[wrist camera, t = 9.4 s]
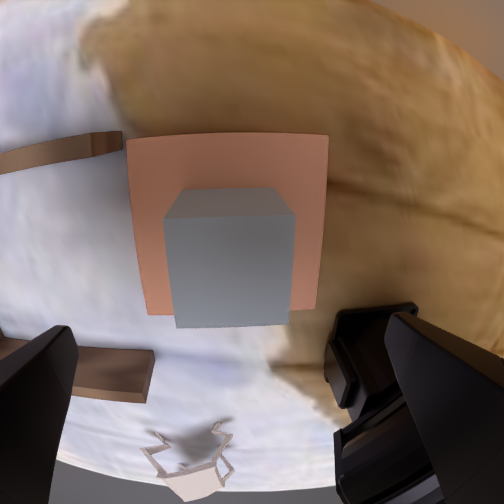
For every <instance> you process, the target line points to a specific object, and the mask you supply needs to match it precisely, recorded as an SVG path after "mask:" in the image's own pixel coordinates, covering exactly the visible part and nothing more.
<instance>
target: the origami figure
mask: <svg viewBox="0 0 504 504" xmlns="http://www.w3.org/2000/svg"><path fill="white" fill-rule="evenodd" d="M220 425H221V422H217V423H216V424H215V426H214V427H213V429H212V430H211V433H213V434H217V435H222V436H226V437H225V438H224V440H223V442H222V443H221V445H220V446H219V448H218V450H217V452H216V453H215V455H214V457H213V459H212V461H211V462H209V463H206V464H203V465H200V466H197V467H194V468H191V469H187V468H186V467H184V466H183V465H182V464H181V463H177V464H178V465H179V466H180V467H182V468H183V469H185V470H183V471H179V472H175V473H170V474H168V473H167V472H166V471H165V470H164V469H163V468H162V467H161V466H160V465H159V464H158V462H157V461H156V460H155V459H154V458H153V457H152V456H151V455H152V454H155V453H158V452H161V451H163V450H166V449H169V448H171V447H170V445H169V444H168V443H167V442H166V441H165V440H164V439H163V438H162V437H161V436H160V435H159V434H158V433H156V432H154V433H155V435H156V436H157V437H158V438H159V439H160V440H161V441H162V442H163V443H164V444H165V445H159V446H152V447H145V448H140V449H141V451H142V452H143V453H144V455H145V456H146V457H147V458H148V460H149V461H150V462H151V463H152V465H153V466H154V467H155V468H156V470H157V471H158V474H157V476H156V477H157V478H159V479H160V480H162V481H163V482H164V483H165V484H166V485H167V486H168V487H170V488H171V489H172V490H173V491H174V492H175V493H176V494H177V495H179V496H180V497H181V498H182V499H183V500H184V501H183V502H188V501H192V500H195V499H200V498H203V497H206V496H208V495H210V494H212V493H213V492H215V491H217V490H218V489H220V488H223V487H224V485H225V481H226V480H227V479H228V478H229V477H230V476H231V475H232V474H233V472H234V468H233V467H232V466H231V465H230V464H229V462H228V461H227V460H226V459H225V457H224V456H223V455H222V454H221V453H222V451H223V449H224V448H225V447H226V445H227V444H228V443H229V441H230V440H231V438H232V437H233V434H229V433H224V432H219V431H216V430H217V429H218V428H219V426H220ZM219 456H220V458H221V459H222V461H223V462H224V464H225V465H226V466H227V468H228V469H229V472H228V473H227V474H226V475H225V476H224V477H223V478H221V476H220V474H219V471H218V469H217V466H216V462H217V459H218V457H219Z"/></svg>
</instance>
